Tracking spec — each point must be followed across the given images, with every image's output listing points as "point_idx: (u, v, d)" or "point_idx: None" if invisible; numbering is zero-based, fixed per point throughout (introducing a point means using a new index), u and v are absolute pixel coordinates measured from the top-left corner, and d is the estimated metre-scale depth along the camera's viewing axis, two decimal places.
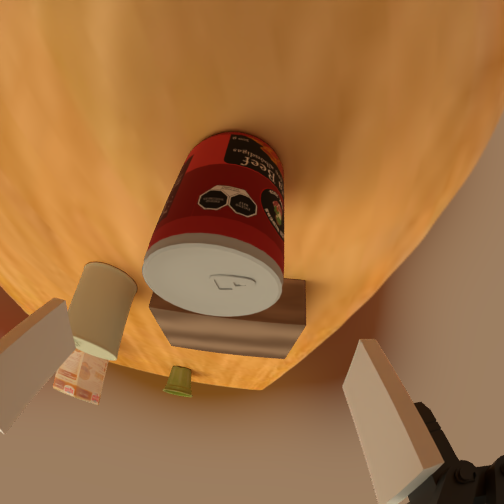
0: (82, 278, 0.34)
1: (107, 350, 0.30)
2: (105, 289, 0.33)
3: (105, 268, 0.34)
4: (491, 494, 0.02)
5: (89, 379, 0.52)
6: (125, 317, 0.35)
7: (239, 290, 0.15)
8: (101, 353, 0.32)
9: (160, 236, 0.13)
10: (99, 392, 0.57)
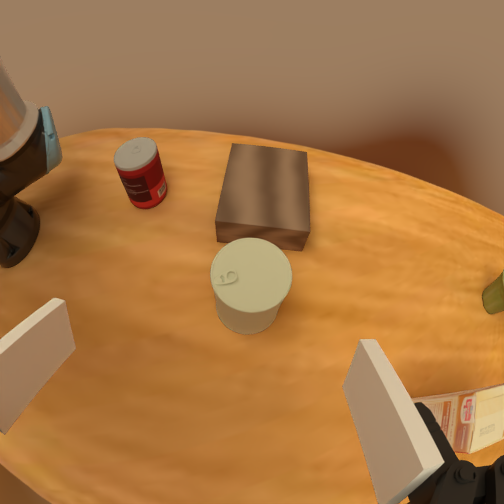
0: (219, 312, 0.37)
1: (240, 239, 0.33)
2: None
3: None
4: (491, 494, 0.02)
5: (470, 391, 0.22)
6: None
7: (140, 146, 0.41)
8: (263, 259, 0.31)
9: (115, 165, 0.39)
10: None
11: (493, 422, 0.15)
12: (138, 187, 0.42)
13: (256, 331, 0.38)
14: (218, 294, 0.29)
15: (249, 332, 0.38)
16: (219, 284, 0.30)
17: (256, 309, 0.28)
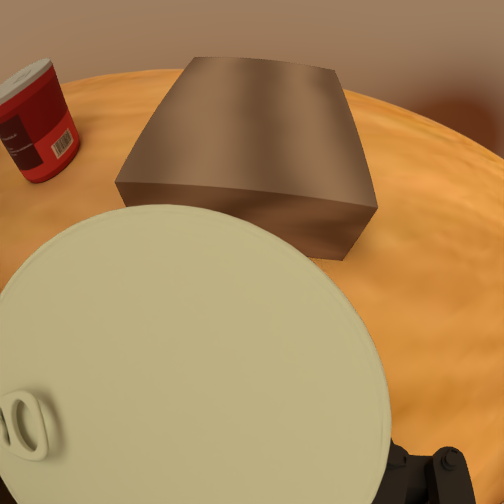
0: None
1: (106, 215, 0.06)
2: None
3: None
4: (430, 487, 0.04)
5: None
6: None
7: (29, 71, 0.14)
8: (211, 338, 0.04)
9: None
10: None
11: None
12: (13, 139, 0.15)
13: None
14: (5, 483, 0.02)
15: None
16: (2, 445, 0.03)
17: None
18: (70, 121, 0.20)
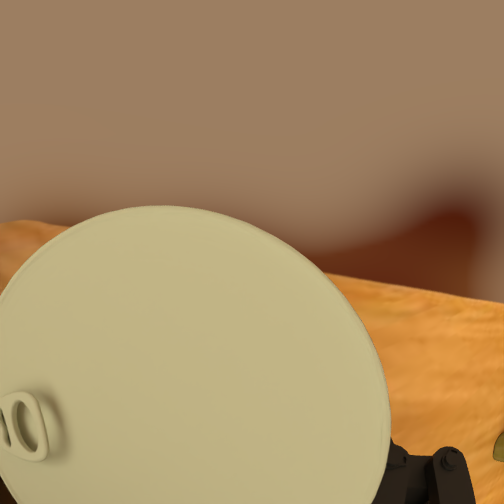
0: None
1: (106, 216, 0.06)
2: None
3: None
4: (430, 487, 0.04)
5: None
6: None
7: None
8: (211, 339, 0.04)
9: None
10: None
11: None
12: None
13: None
14: (6, 483, 0.02)
15: None
16: (2, 446, 0.03)
17: None
18: None
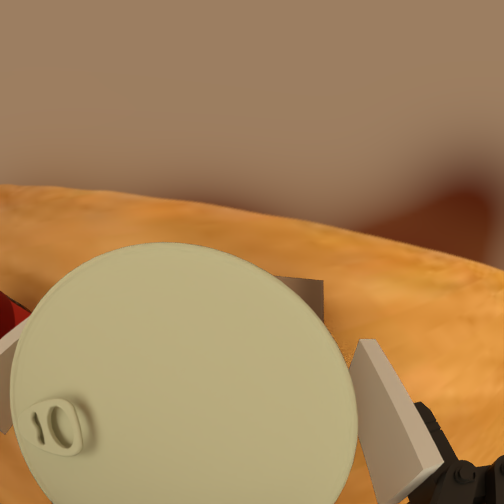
0: None
1: (125, 249, 0.07)
2: None
3: None
4: (490, 494, 0.02)
5: None
6: None
7: None
8: (216, 356, 0.06)
9: None
10: None
11: None
12: None
13: None
14: (35, 477, 0.03)
15: None
16: (34, 444, 0.04)
17: None
18: None
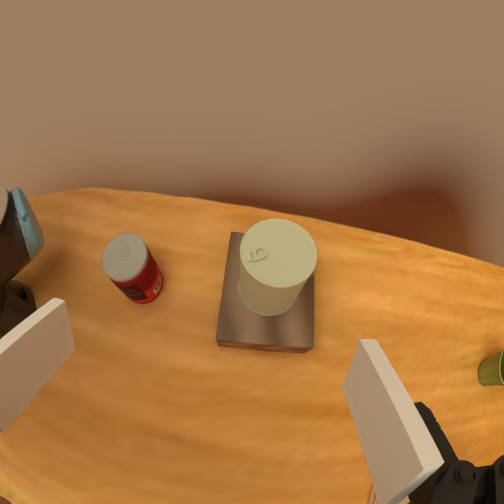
0: (242, 293, 0.38)
1: None
2: None
3: None
4: (491, 494, 0.02)
5: None
6: None
7: (129, 247, 0.39)
8: (290, 238, 0.33)
9: None
10: None
11: None
12: (131, 292, 0.40)
13: (278, 312, 0.39)
14: (248, 270, 0.30)
15: (271, 313, 0.39)
16: (249, 261, 0.31)
17: (285, 285, 0.30)
18: (158, 270, 0.45)
